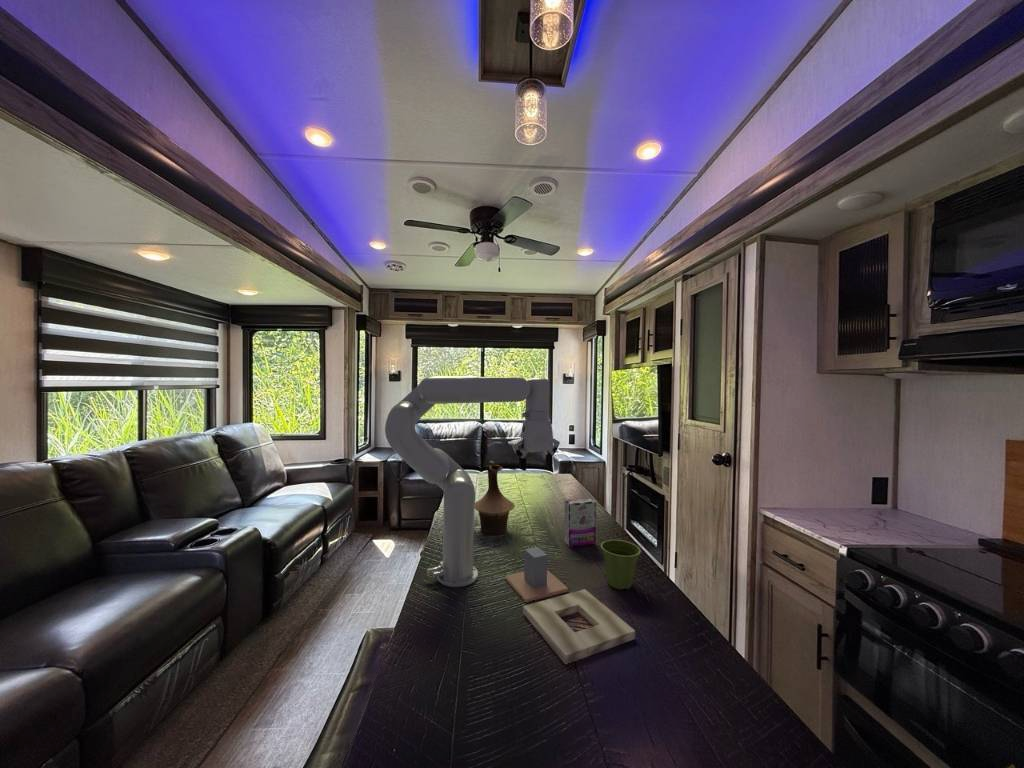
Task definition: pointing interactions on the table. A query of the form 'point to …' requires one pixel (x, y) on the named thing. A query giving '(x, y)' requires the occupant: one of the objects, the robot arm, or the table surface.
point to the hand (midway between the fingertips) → (536, 468)
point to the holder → (583, 642)
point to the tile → (535, 593)
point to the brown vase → (493, 505)
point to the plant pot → (620, 562)
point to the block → (535, 567)
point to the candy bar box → (580, 522)
